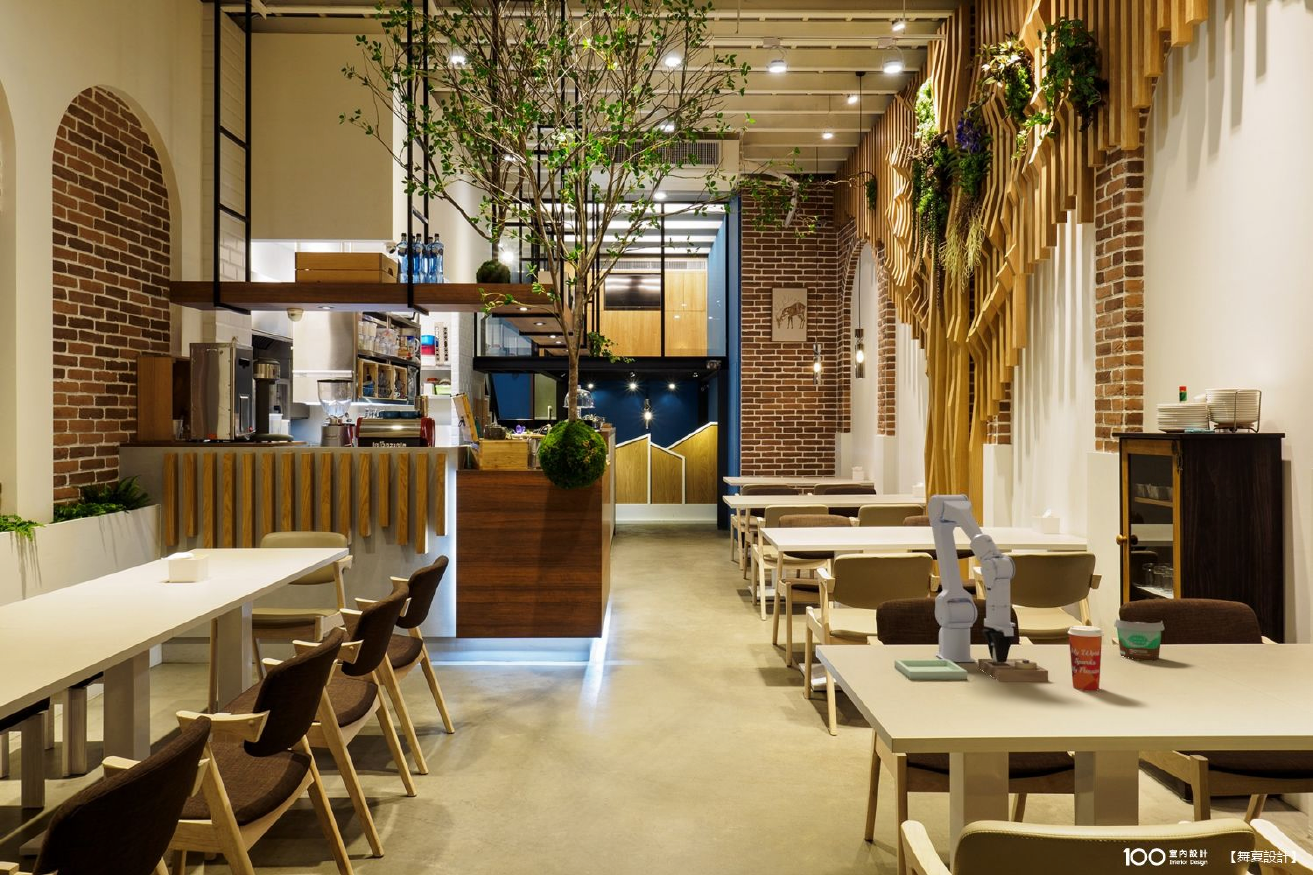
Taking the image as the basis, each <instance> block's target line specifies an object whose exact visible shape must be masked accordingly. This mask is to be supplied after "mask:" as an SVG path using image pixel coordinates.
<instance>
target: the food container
mask: <svg viewBox="0 0 1313 875" xmlns="http://www.w3.org/2000/svg"><path fill="white" fill-rule="evenodd" d="M1113 626H1114V627H1115V628H1116V629H1117V630H1116V631H1117V639H1118V646H1119V654H1120V655H1121V656H1124V657H1129V658H1133V659H1139V660H1138V661H1143V660H1152V661H1157V659H1158V660H1159V658H1160V652H1161V651H1160V650H1161V640H1162V631H1164V630H1165V626H1164V623H1163V620H1161V621H1160V622H1151V623H1150V622H1145V621H1131V622H1130V621H1127V620H1126V621H1125V620H1120V619H1117V618H1115V621H1114V625H1113ZM1121 656H1120V657H1121ZM1124 657H1123V658H1124ZM1133 659H1132V660H1133Z"/></svg>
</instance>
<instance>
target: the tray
mask: <svg viewBox="0 0 1313 875" xmlns="http://www.w3.org/2000/svg"><path fill="white" fill-rule="evenodd" d="M894 668H895V669H896V670H897V671H898V672H899V673H900V674H902V675H903V676H904V675H905V676H904V677H906V678H907V679H908V680H910V681H940V680H941V681H947V680H948V681H949V680H950V681H954V680H956V681H961V680H960V679H962V681H963V679H967V680H968V671H967V670H966V669H965V668H963V667H961V666H960V665H958V664H956V662H952V661H950V660H949V659H941V658H939V659H935V658H934V659H931V658H930V659H925V658H924V659H894Z"/></svg>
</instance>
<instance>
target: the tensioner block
mask: <svg viewBox="0 0 1313 875" xmlns="http://www.w3.org/2000/svg"><path fill="white" fill-rule="evenodd" d="M977 666H978V668H979V669H978V668H977V669H978V670H980V669H981V670H983V671H984V672H986V673H987V674H986V673H985V674H986V675H988V676H989V675H991V676H992V677H991V676H990V677H991V678H993V677H994V678H995V679H994V678H993V679H994V680H996V679H997V680H998V682H1049V670H1047V669H1045V668H1044V667H1042V666H1040V665H1038V664H1037V662H1035V661H1031V660H1029V659H1026V658H1007V661H1006V662H1005V666H993V659H992V658H978V659H977ZM981 670H980V671H981ZM983 671H982V672H983ZM984 672H983V673H984ZM997 680H996V681H997Z"/></svg>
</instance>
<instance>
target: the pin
mask: <svg viewBox="0 0 1313 875" xmlns="http://www.w3.org/2000/svg"><path fill="white" fill-rule="evenodd" d="M991 646H993V666H1005V662H997V659H996V654H995V647H994V643H993V641H992V642H991Z"/></svg>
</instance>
